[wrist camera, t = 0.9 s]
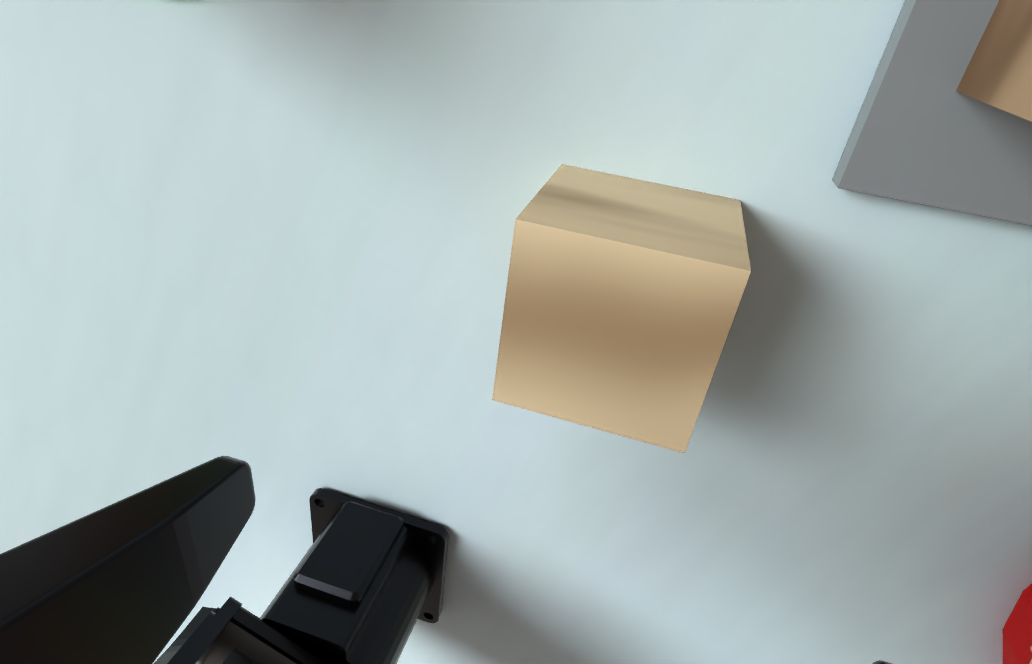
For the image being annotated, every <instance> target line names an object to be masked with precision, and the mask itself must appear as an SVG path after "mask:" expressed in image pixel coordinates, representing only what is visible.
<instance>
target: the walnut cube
mask: <svg viewBox="0 0 1032 664" xmlns="http://www.w3.org/2000/svg"><path fill="white" fill-rule="evenodd" d="M956 91H957V92H959V93H962V94H964V95H967V96H969V97H971V98H974V99H976V100H979V101H981V102H984V103H986V104H989V105H991V106H994V107H996V108H999V109H1001V110H1004V111H1006V112H1009V113H1011V114H1014V115H1016V116H1019V117H1021V118H1024V119H1026V120H1029V121H1031V122H1032V0H999V2H998V4H997V6H996V8H995V10H994V12H993V14H992V16H991V19H990V21H989V23H988V25H987V27H986V29H985V31H984V33H983V35H982V37H981V39H980V41H979V44H978V46H977V48H976V50H975V52H974V54H973V56H972V58H971V60H970V62H969V64H968V66H967V68H966V71H965V73H964V75H963V77H962V79H961V81H960V83H959V85H958V87H957V89H956Z"/></svg>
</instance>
